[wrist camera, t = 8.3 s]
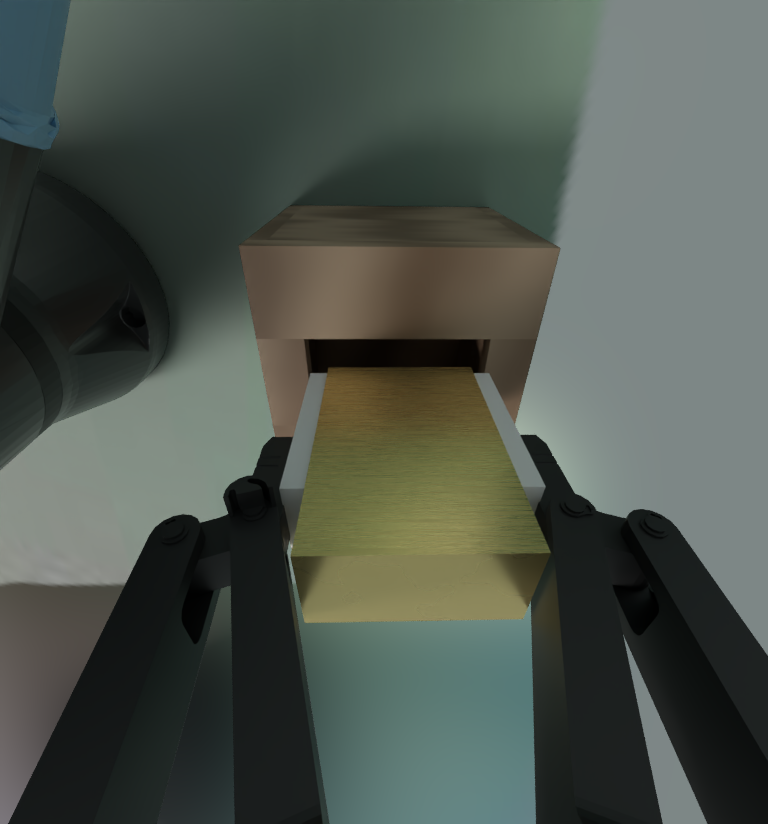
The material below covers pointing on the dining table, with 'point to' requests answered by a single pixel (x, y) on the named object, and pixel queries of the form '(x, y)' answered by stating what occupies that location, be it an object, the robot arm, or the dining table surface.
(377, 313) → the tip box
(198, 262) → the dining table surface
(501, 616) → the rectangular block
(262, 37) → the dining table surface
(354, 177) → the dining table surface
